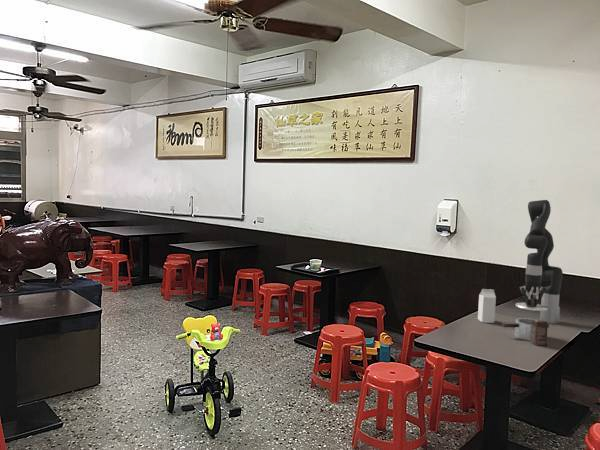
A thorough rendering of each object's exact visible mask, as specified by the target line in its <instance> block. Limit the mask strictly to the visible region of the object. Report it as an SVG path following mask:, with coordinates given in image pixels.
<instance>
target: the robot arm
mask: <svg viewBox="0 0 600 450" xmlns="http://www.w3.org/2000/svg"><path fill="white" fill-rule="evenodd" d="M550 203H551V202H550V201H549V200H548V199H541V200H531V201H528V203H527V210H528V215H529V218H530V222H531V225H530V228H529V229H530V230H529V233H528V234H527V235H526V236H525V238H524V246H525V247H526V248H528V249H534V250H536V252H531V253H528V254H527V258H526V268H525V280H524V282H525V283H524V285H522V286H519V291H520V293H521V296H522V298H525V303H526V305H527V306H530V299H531V296H533V299H535V306H537V304H539V302H538V301H539V299H541V300H540V301H541V302H540V305H543V306H546V307H547V308H548V309H547V311H539V312H540V313H539V320H545V321H547V322H548V324H549V325H550V324H552V325H553V324H554V325H555V324H559V323H560V315H561V307H560V306H559V305H560V293H561V289H562V284H563V283H562V282H563V276H564V275H563V269H562V268H561V267H559V266H553V265H550V264H549V257H550V255H551V254H552V252H553V251H554V248H555V247H554V238H553V235H552V233H550V231H549V230H548V229H547V228H546V226H547V224H548V223H547V222H548V220H549V218H550V214H551V212H552V211H551V208H552V207H551V204H550ZM542 281H545V282H550V285H548V286H542V285H541V283H542Z"/></svg>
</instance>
